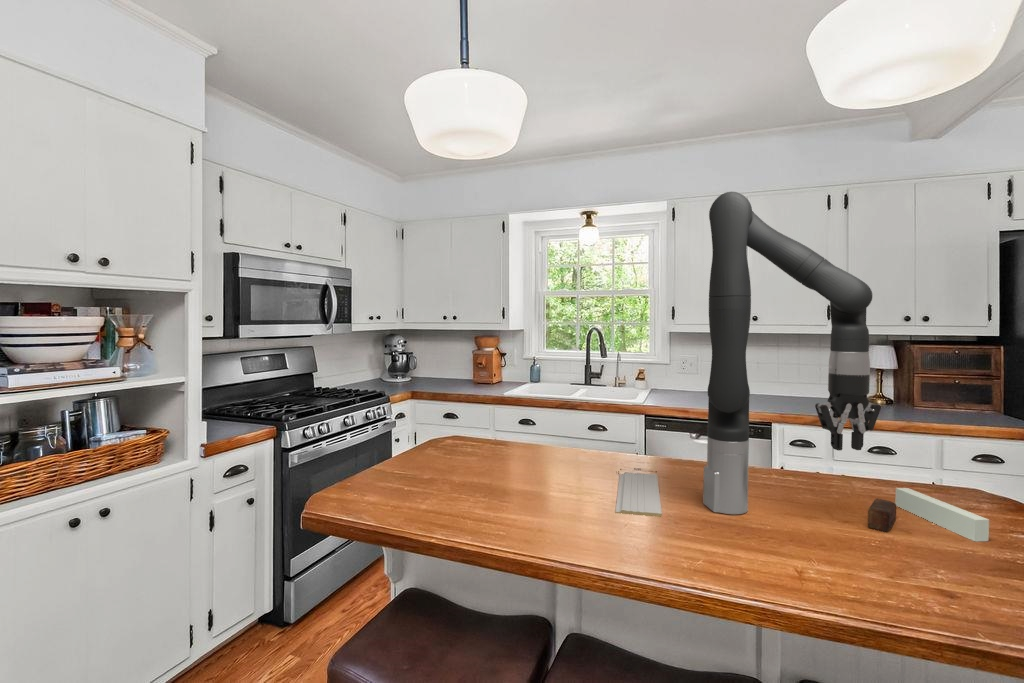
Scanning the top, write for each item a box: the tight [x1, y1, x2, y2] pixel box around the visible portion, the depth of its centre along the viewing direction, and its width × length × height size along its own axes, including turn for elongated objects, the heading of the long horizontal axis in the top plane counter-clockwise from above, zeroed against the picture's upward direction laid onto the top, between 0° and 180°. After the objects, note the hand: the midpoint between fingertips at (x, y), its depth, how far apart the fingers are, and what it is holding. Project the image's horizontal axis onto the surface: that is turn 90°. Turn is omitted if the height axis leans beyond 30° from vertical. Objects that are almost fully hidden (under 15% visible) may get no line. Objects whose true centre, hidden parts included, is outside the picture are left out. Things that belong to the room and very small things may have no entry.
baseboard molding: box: [614, 468, 663, 518], centre depth 133 cm, size 31×3×12 cm
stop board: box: [894, 487, 990, 542], centre depth 113 cm, size 3×20×4 cm, turn 3°
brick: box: [867, 498, 897, 533], centre depth 112 cm, size 11×4×5 cm, turn 136°
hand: (846, 449), depth 110 cm, fingers open, 3 cm apart
